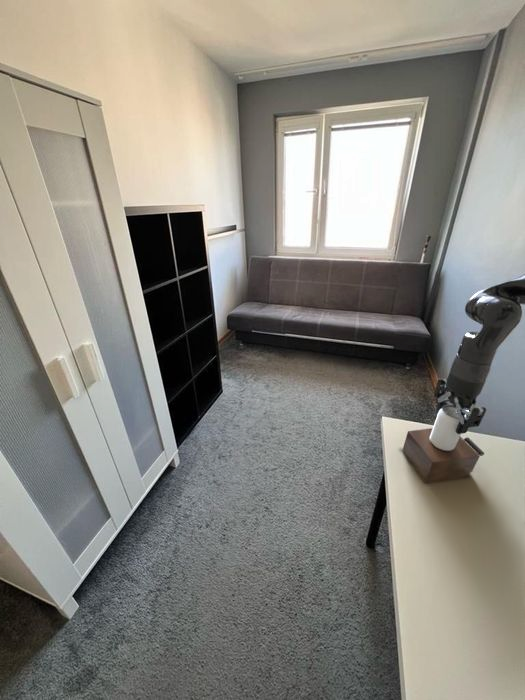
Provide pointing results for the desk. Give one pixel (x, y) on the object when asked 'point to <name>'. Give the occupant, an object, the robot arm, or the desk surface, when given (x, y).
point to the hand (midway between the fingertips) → (449, 422)
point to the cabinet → (438, 457)
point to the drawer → (474, 446)
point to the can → (446, 428)
